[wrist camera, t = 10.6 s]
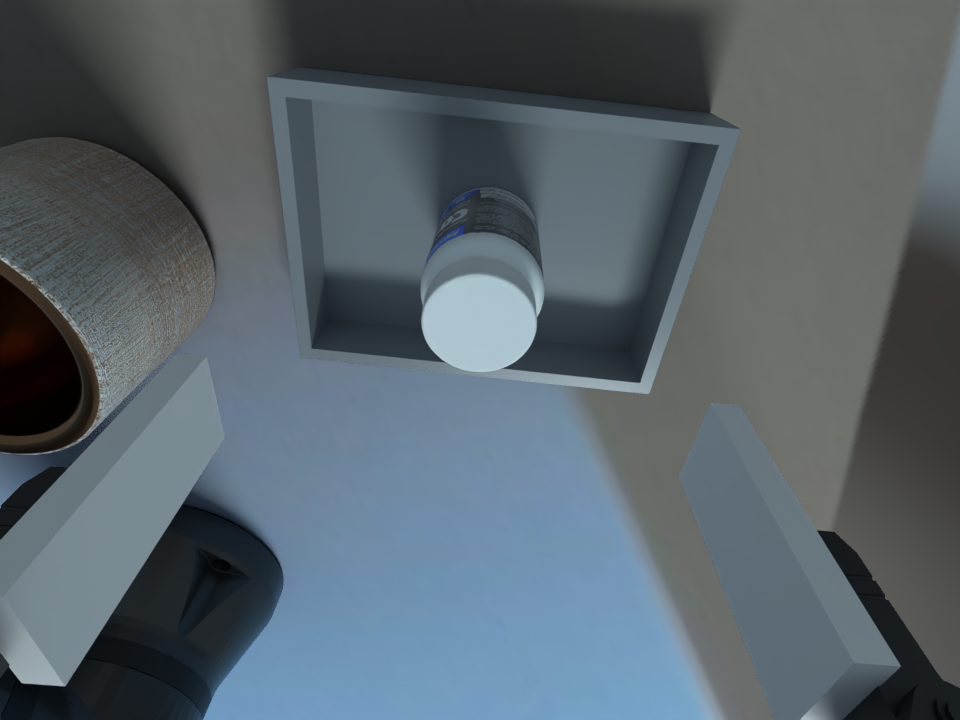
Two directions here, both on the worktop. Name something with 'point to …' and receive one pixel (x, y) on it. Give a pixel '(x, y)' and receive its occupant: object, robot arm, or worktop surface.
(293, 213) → the grey tray
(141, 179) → the planter
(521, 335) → the pill bottle
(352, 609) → the worktop surface
